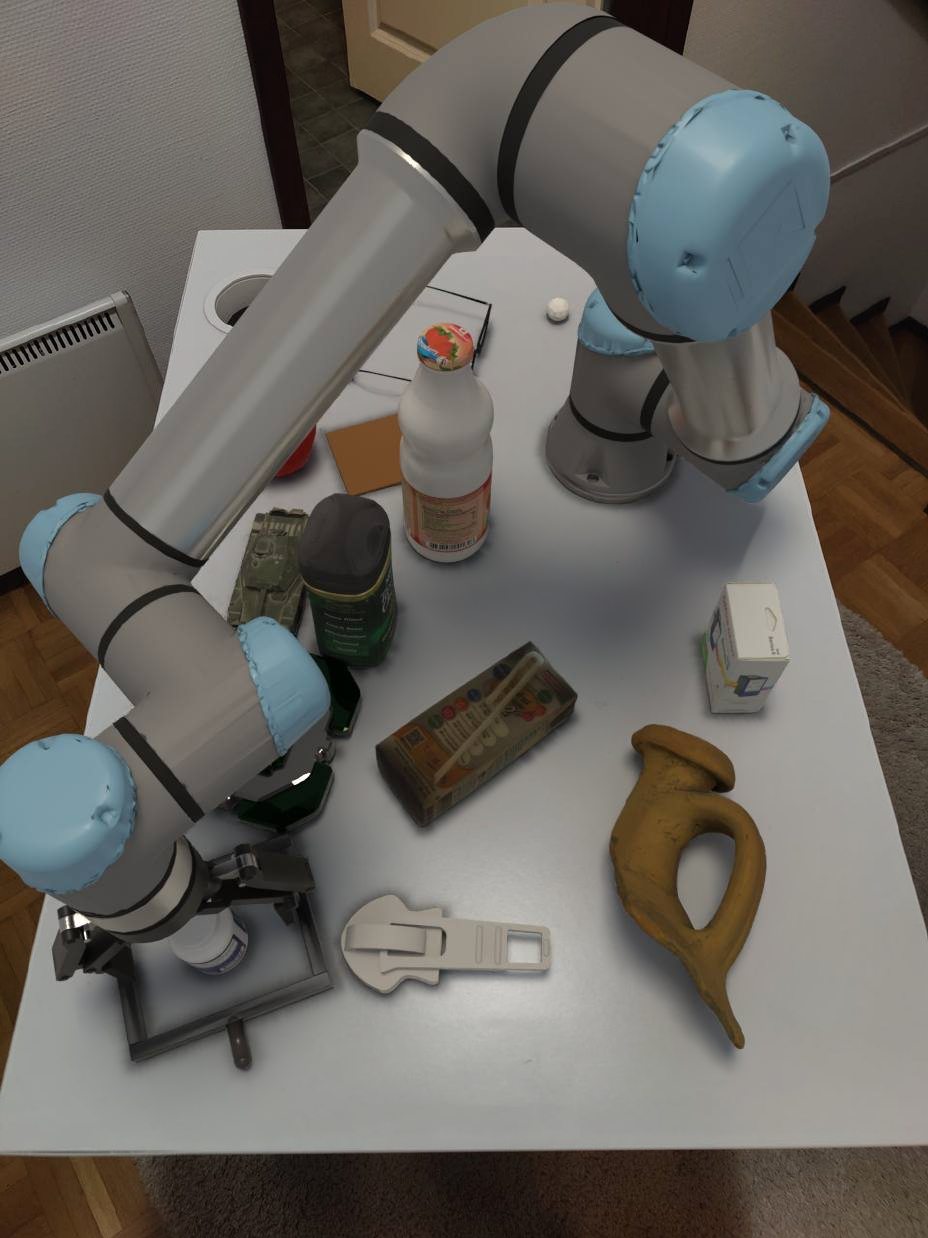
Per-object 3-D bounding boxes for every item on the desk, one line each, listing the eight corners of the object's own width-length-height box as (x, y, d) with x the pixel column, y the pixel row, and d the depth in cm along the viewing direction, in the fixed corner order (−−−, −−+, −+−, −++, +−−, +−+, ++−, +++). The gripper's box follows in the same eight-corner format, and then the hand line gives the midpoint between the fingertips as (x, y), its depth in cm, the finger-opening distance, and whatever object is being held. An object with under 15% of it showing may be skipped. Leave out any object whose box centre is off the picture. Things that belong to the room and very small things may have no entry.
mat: (435, 405, 112) (435, 403, 112) (464, 465, 108) (464, 463, 107) (325, 435, 110) (325, 432, 109) (349, 498, 105) (349, 496, 105)
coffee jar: (385, 677, 94) (372, 581, 78) (310, 663, 95) (282, 565, 78) (406, 598, 99) (398, 492, 82) (335, 585, 99) (313, 478, 83)
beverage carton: (575, 720, 92) (584, 692, 86) (421, 834, 86) (419, 812, 80) (525, 663, 95) (530, 632, 89) (373, 769, 89) (367, 744, 83)
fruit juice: (388, 526, 103) (368, 337, 79) (451, 483, 106) (450, 288, 82) (442, 580, 100) (439, 399, 75) (505, 533, 103) (522, 345, 79)
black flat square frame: (291, 837, 86) (288, 832, 84) (345, 1031, 77) (343, 1029, 76) (108, 901, 83) (101, 896, 81) (144, 1110, 74) (138, 1109, 73)
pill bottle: (189, 914, 82) (159, 888, 74) (250, 909, 82) (226, 883, 74) (185, 978, 79) (153, 959, 71) (248, 973, 80) (223, 953, 71)
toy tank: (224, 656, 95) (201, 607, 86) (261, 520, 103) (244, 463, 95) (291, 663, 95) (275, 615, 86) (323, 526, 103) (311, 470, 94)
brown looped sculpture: (512, 926, 75) (622, 694, 81) (553, 954, 85) (647, 746, 92) (731, 1041, 65) (836, 769, 72) (747, 1056, 76) (837, 817, 82)
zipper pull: (546, 1002, 79) (551, 996, 75) (338, 991, 79) (332, 984, 75) (547, 908, 83) (551, 897, 79) (348, 898, 83) (343, 886, 79)
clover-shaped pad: (134, 796, 87) (119, 780, 83) (209, 637, 96) (199, 615, 92) (311, 847, 85) (304, 832, 81) (372, 679, 94) (368, 658, 90)
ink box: (758, 713, 92) (796, 660, 82) (707, 714, 92) (739, 660, 82) (744, 639, 97) (779, 579, 86) (696, 639, 97) (725, 579, 86)
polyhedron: (541, 319, 120) (543, 300, 117) (555, 307, 121) (557, 288, 118) (558, 329, 119) (560, 311, 116) (572, 317, 120) (575, 298, 118)
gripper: (306, 761, 64) (337, 846, 82) (-69, 885, 59) (54, 946, 78) (336, 862, 60) (362, 928, 79) (-59, 1002, 56) (67, 1037, 74)
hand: (209, 937), depth 78 cm, fingers open, 13 cm apart
